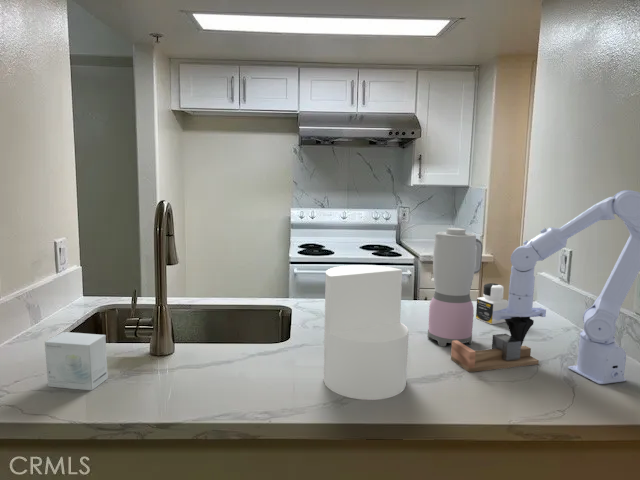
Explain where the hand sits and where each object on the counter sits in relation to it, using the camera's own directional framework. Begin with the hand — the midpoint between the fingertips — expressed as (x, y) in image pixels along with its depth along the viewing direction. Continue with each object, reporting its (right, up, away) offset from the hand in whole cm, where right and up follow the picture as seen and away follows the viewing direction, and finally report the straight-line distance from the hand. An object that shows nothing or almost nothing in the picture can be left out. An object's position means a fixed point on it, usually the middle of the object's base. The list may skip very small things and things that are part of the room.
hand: (516, 345), depth 120 cm
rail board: (-6, -4, -1) cm, 8 cm away
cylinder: (-40, -5, -13) cm, 43 cm away
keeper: (-3, -3, -1) cm, 4 cm away
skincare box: (-104, -5, -17) cm, 105 cm away
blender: (-12, -2, +15) cm, 19 cm away
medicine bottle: (+6, 0, +33) cm, 34 cm away
